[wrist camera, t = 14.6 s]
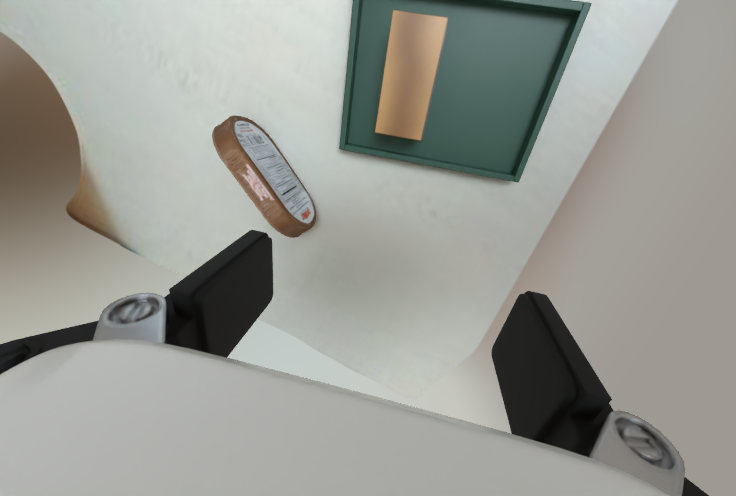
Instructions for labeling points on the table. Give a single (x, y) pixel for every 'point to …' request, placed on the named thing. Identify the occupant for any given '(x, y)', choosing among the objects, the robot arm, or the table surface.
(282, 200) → the tin
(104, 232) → the table surface
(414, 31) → the eraser
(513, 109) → the tray
